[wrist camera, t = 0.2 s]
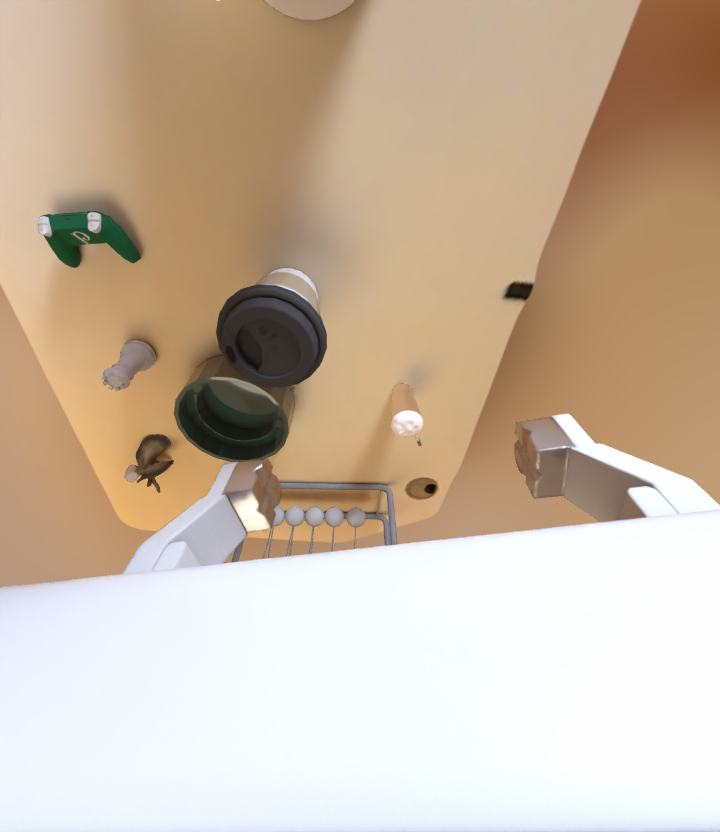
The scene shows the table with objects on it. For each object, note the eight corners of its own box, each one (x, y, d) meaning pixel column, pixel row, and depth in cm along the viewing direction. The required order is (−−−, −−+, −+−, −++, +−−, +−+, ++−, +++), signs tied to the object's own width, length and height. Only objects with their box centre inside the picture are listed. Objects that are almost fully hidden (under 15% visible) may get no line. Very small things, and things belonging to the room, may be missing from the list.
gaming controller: (143, 236, 45) (108, 202, 39) (143, 265, 45) (107, 235, 39) (71, 241, 46) (26, 209, 40) (70, 270, 45) (23, 241, 39)
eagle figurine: (179, 481, 69) (187, 458, 63) (142, 503, 64) (147, 480, 58) (154, 451, 70) (160, 426, 64) (116, 470, 65) (117, 445, 59)
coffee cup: (234, 255, 45) (190, 301, 33) (325, 243, 44) (313, 287, 32) (260, 338, 52) (231, 401, 40) (339, 330, 51) (333, 391, 40)
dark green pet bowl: (170, 365, 55) (151, 389, 50) (272, 342, 52) (262, 366, 47) (220, 442, 64) (208, 469, 59) (307, 426, 62) (303, 453, 57)
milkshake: (400, 410, 60) (406, 453, 52) (381, 389, 58) (385, 431, 50) (424, 396, 58) (434, 438, 51) (405, 374, 56) (413, 415, 48)
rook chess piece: (119, 350, 53) (87, 380, 47) (135, 332, 51) (104, 361, 45) (147, 370, 55) (120, 402, 49) (163, 354, 53) (138, 384, 47)
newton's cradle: (392, 483, 71) (400, 569, 58) (387, 516, 78) (394, 600, 64) (237, 480, 71) (208, 567, 57) (246, 513, 77) (222, 599, 63)
